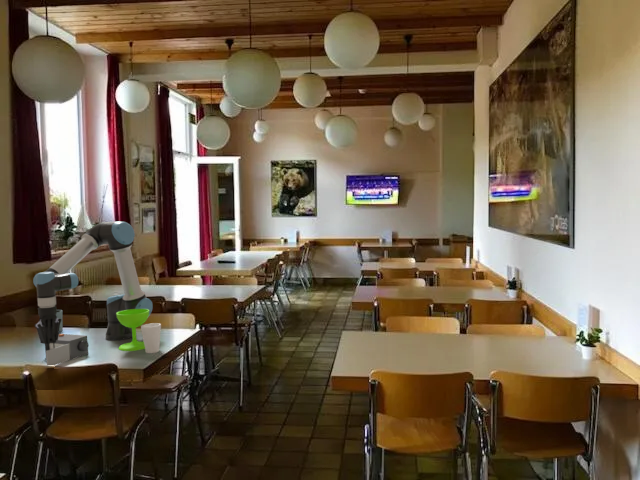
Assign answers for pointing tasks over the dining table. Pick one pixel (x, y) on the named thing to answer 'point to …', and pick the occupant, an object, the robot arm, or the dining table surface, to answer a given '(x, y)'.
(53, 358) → the side door
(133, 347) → the wineglass
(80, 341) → the camera body
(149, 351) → the foam cup
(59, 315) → the drinking glass
